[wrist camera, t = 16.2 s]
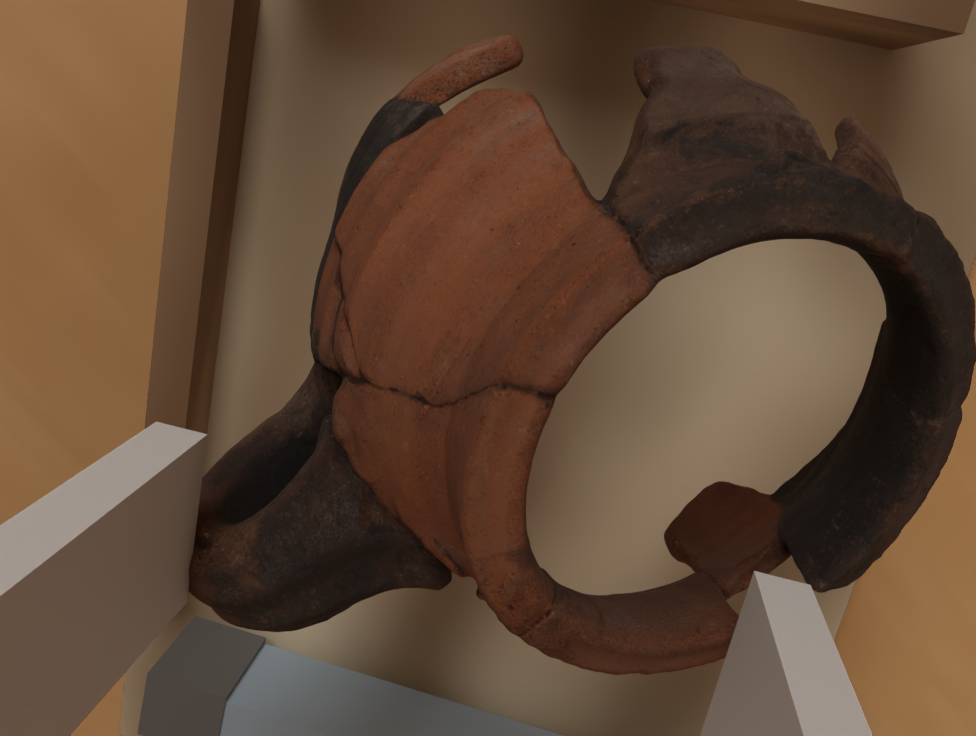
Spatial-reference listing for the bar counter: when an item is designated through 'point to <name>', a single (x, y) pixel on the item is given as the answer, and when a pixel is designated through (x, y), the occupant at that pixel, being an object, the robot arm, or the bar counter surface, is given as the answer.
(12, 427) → the bar counter surface
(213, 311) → the board
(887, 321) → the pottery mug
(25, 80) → the bar counter surface
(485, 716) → the leg
